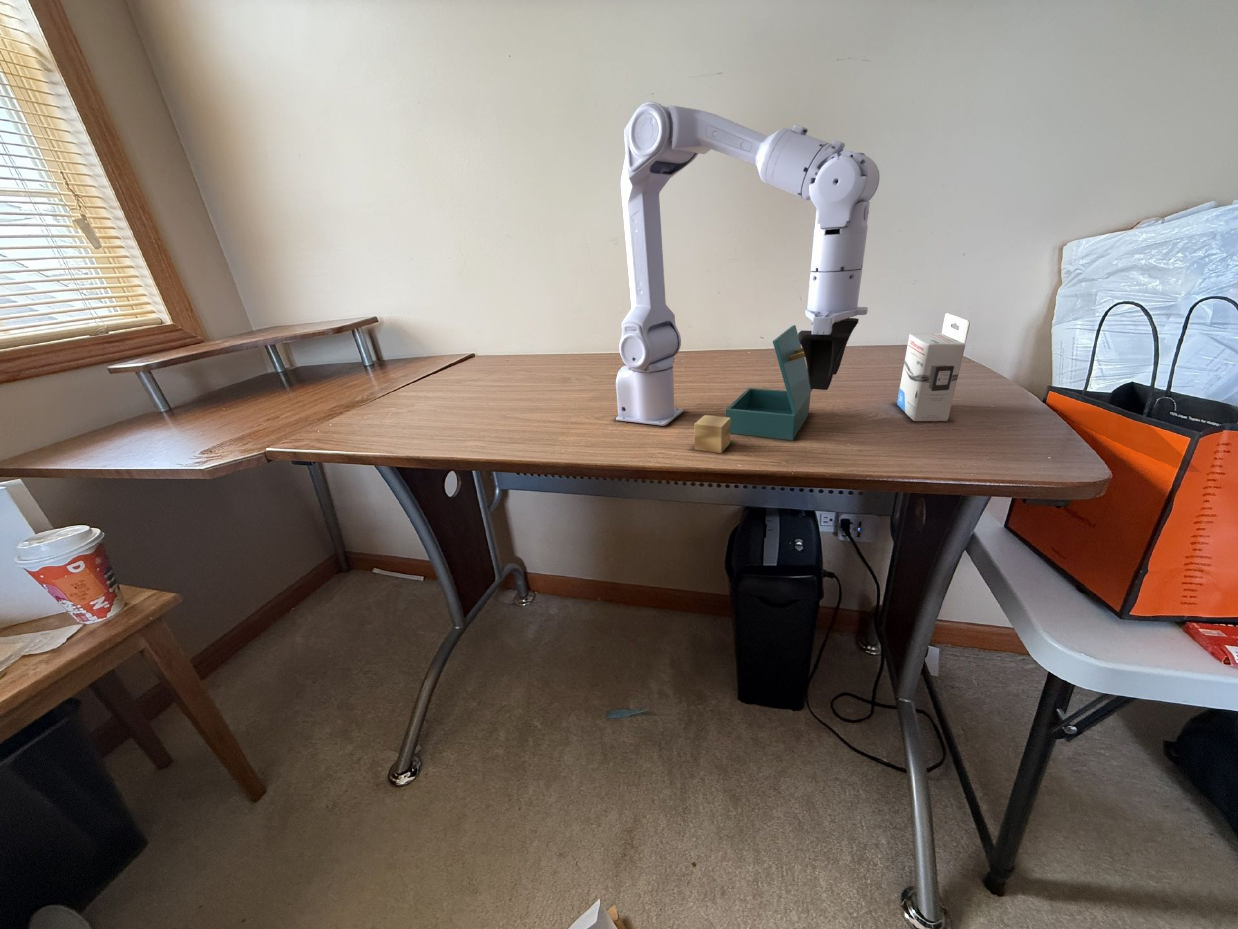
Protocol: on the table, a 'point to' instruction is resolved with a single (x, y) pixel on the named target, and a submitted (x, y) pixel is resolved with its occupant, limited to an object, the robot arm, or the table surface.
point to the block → (712, 433)
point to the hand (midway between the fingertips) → (824, 380)
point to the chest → (766, 414)
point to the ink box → (932, 371)
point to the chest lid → (793, 367)
